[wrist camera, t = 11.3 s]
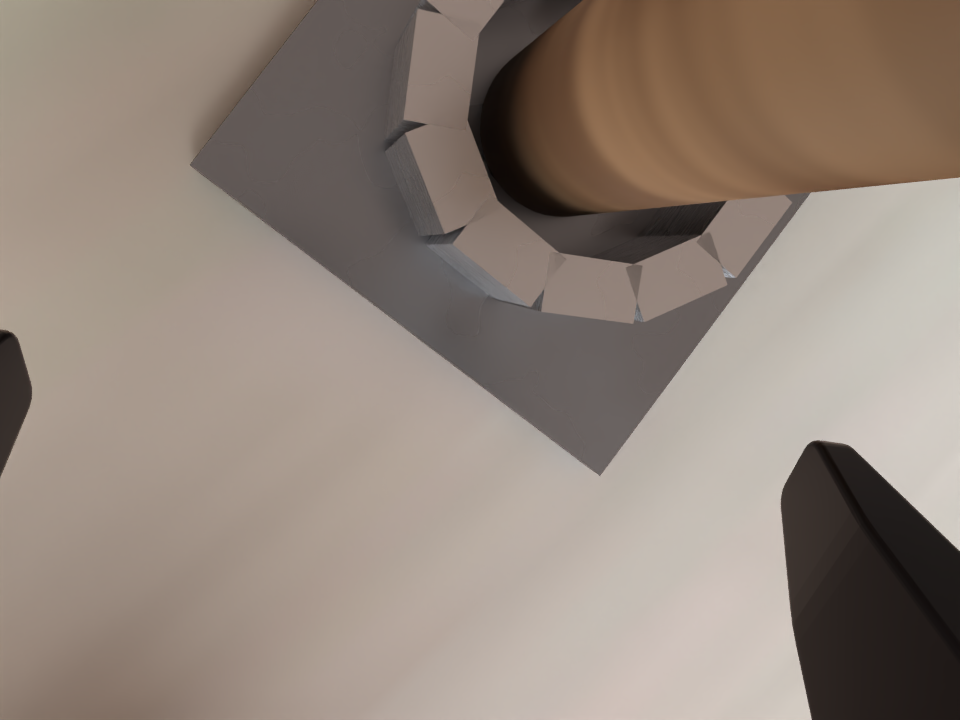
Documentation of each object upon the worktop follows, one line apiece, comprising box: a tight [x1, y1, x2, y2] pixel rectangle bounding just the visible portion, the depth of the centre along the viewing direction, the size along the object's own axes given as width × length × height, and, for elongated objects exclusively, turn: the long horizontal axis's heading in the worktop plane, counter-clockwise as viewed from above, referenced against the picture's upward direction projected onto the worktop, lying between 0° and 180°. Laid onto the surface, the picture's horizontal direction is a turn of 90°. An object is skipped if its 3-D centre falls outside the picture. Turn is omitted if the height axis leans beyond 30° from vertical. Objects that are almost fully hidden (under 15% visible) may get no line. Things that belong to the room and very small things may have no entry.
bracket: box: [190, 0, 811, 476], centre depth 18 cm, size 12×12×4 cm
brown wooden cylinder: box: [480, 0, 960, 217], centre depth 13 cm, size 4×4×13 cm
